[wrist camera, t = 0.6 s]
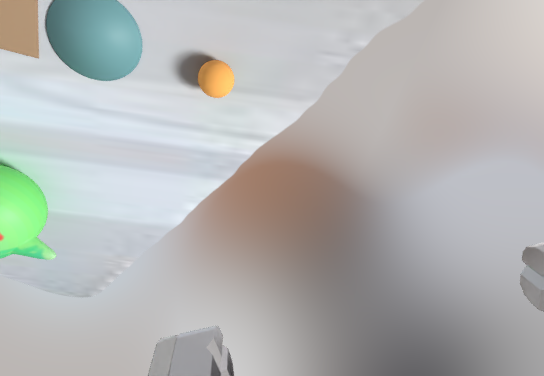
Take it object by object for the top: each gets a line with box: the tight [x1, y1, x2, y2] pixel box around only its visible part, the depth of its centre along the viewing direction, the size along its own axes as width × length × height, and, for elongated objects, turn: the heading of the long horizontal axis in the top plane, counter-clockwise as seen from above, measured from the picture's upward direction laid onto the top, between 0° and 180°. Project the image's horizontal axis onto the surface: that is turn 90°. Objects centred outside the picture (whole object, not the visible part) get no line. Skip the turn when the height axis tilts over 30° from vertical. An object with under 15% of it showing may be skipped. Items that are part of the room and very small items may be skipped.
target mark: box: [46, 0, 142, 81], centre depth 46 cm, size 12×12×1 cm
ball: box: [198, 60, 234, 98], centre depth 51 cm, size 6×6×6 cm
